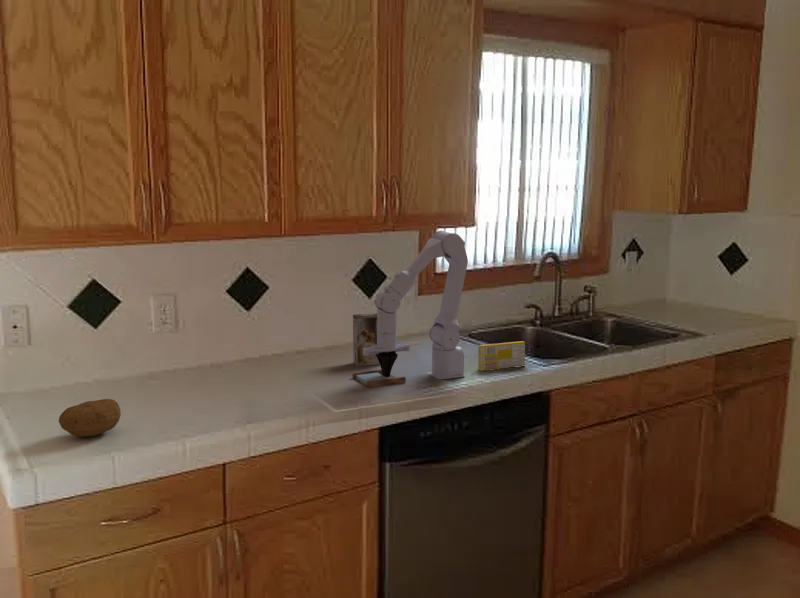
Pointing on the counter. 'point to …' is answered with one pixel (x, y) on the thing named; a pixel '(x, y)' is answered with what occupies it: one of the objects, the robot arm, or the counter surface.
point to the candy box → (501, 355)
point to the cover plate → (369, 377)
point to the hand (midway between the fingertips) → (386, 376)
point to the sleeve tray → (383, 382)
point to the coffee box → (364, 338)
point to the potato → (90, 418)
